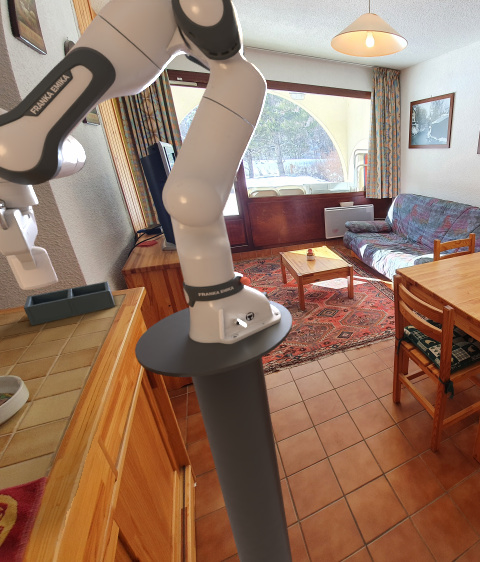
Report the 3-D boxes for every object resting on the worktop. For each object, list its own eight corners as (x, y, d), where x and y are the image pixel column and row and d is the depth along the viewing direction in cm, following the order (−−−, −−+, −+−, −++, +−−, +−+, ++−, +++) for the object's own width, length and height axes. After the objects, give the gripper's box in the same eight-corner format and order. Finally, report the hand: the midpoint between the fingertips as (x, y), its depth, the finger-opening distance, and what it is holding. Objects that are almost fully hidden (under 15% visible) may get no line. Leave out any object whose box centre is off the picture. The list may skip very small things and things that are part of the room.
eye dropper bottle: (54, 287, 65) (31, 231, 60) (17, 291, 62) (-10, 233, 58) (61, 279, 69) (40, 226, 64) (26, 284, 66) (1, 229, 61)
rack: (112, 296, 99) (107, 281, 97) (115, 306, 93) (109, 290, 90) (35, 313, 88) (27, 296, 86) (31, 325, 82) (23, 307, 80)
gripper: (20, 202, 53) (51, 276, 59) (30, 190, 67) (55, 251, 73) (-37, 205, 50) (1, 284, 55) (-14, 192, 63) (15, 256, 69)
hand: (32, 265), depth 64 cm, fingers closed on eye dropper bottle, 4 cm apart
